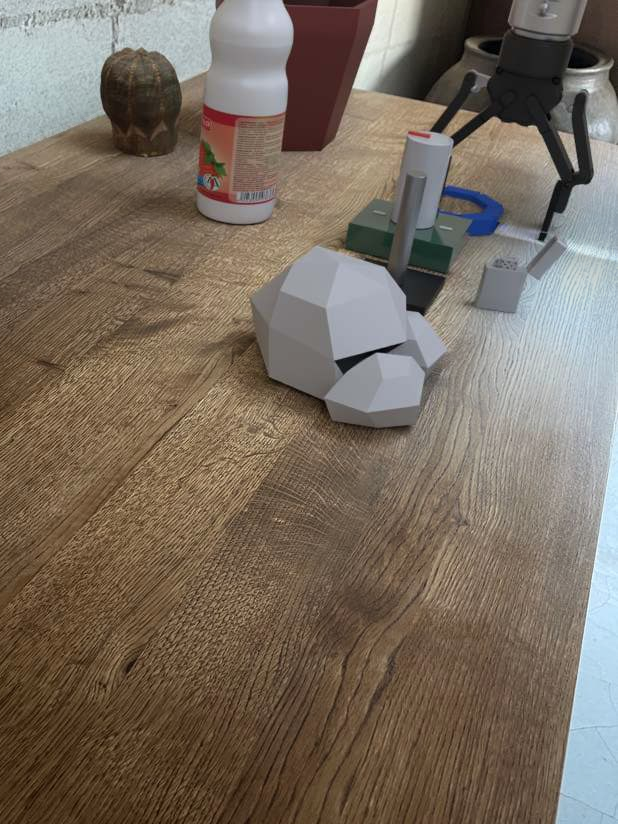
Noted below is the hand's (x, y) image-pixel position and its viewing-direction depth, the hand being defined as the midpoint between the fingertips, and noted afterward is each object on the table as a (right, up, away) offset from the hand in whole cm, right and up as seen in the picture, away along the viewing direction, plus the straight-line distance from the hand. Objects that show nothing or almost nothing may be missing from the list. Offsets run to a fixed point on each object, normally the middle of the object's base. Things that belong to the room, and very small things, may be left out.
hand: (487, 224), depth 114 cm
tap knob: (-11, -3, -9) cm, 15 cm away
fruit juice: (-31, 0, -3) cm, 32 cm away
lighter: (-3, -15, -18) cm, 24 cm away
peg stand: (-15, -13, -17) cm, 26 cm away
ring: (-4, +1, +1) cm, 5 cm away
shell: (-44, +15, +14) cm, 49 cm away
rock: (-23, -25, -33) cm, 47 cm away
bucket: (-24, +21, +24) cm, 40 cm away
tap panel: (-12, -5, -7) cm, 15 cm away
